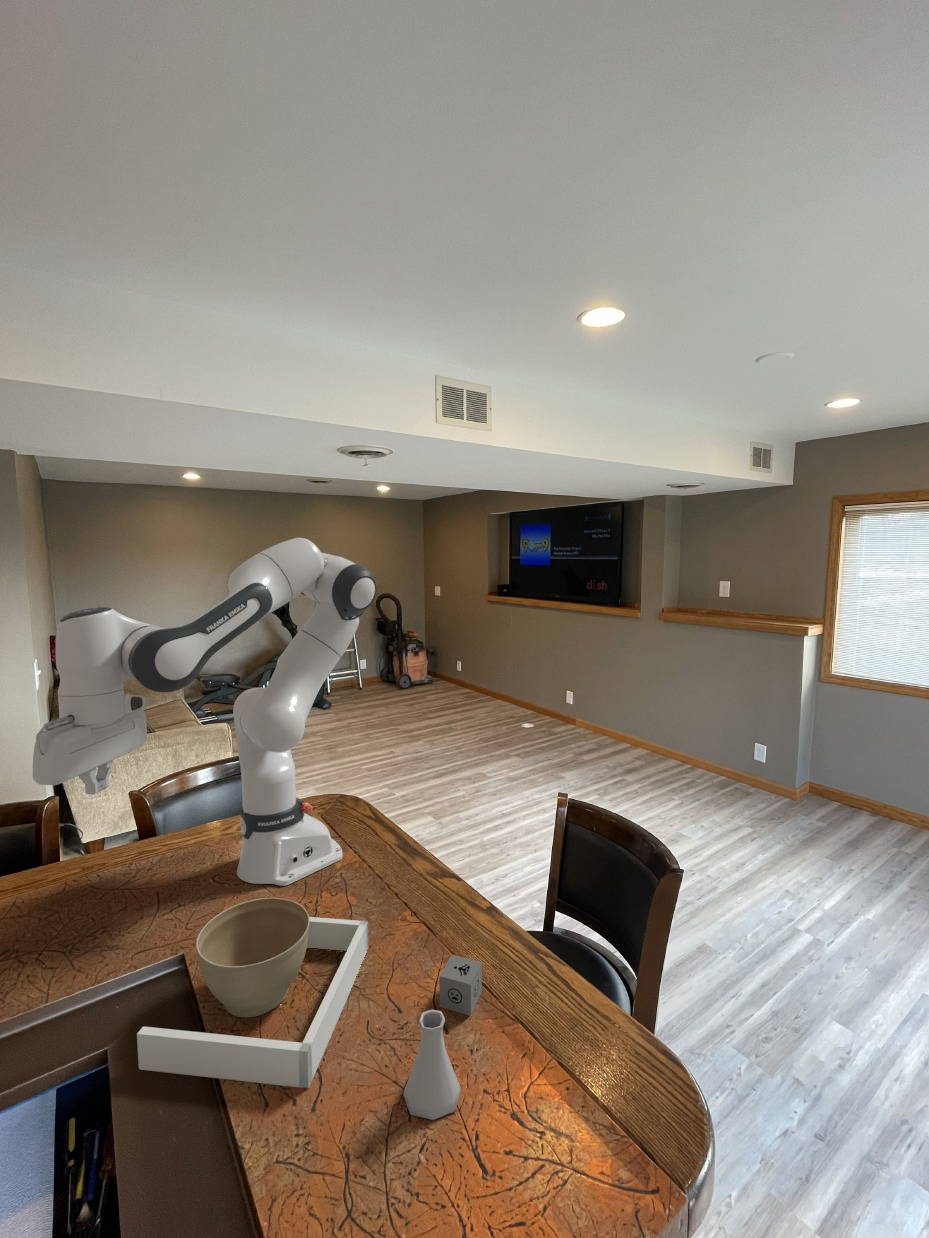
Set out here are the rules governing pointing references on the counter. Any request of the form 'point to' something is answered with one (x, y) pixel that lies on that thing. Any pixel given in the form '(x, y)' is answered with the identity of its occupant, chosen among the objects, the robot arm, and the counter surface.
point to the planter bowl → (253, 953)
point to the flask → (432, 1073)
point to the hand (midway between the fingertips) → (97, 791)
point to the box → (255, 1054)
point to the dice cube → (460, 984)
